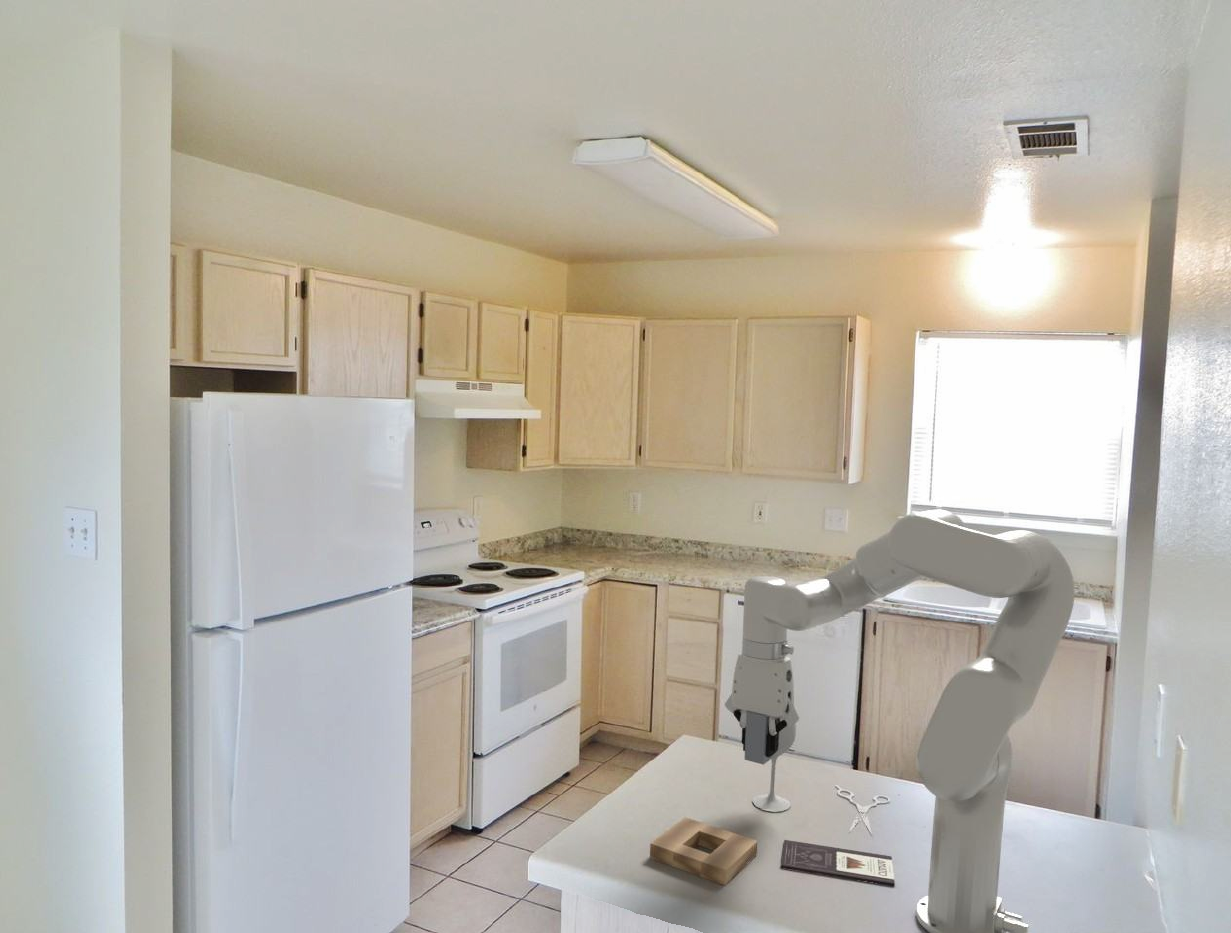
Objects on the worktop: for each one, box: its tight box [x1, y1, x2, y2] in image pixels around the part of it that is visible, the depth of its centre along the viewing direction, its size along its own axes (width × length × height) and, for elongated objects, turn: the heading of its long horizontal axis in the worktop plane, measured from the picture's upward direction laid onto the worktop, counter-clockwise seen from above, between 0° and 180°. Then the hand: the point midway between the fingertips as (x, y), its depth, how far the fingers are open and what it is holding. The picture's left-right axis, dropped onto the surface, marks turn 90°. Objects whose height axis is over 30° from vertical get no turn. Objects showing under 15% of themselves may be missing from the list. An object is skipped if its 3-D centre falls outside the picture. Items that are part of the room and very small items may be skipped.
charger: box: [743, 711, 774, 765], centre depth 155 cm, size 4×4×9 cm
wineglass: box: [752, 713, 797, 811], centre depth 170 cm, size 8×8×21 cm
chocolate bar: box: [780, 839, 896, 888], centre depth 150 cm, size 9×1×18 cm
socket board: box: [649, 816, 759, 886], centre depth 150 cm, size 14×12×2 cm
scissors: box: [834, 784, 891, 836], centre depth 170 cm, size 11×1×20 cm
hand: (759, 750), depth 156 cm, fingers closed on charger, 3 cm apart
